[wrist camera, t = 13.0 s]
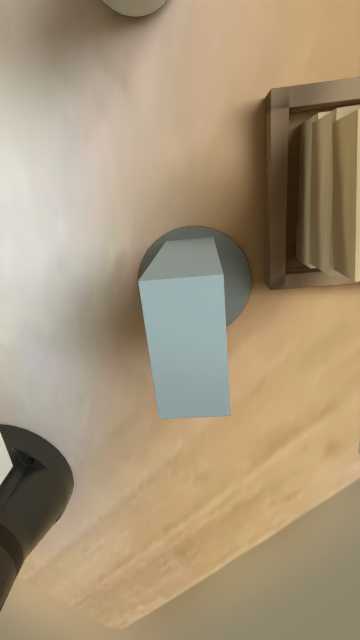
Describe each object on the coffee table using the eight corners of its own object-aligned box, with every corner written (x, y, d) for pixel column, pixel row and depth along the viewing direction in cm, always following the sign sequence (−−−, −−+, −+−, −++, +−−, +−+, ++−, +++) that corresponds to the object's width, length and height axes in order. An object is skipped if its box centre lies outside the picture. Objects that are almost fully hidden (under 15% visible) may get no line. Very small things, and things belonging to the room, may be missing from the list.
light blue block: (175, 327, 30) (158, 418, 18) (166, 241, 27) (138, 281, 15) (218, 324, 30) (230, 416, 18) (213, 236, 27) (223, 274, 15)
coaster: (147, 337, 31) (146, 339, 31) (131, 231, 27) (130, 232, 27) (251, 330, 30) (252, 332, 30) (249, 220, 26) (250, 220, 26)
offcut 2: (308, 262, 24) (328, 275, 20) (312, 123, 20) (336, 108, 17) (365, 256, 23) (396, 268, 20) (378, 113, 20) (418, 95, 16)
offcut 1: (295, 258, 28) (310, 268, 24) (300, 124, 24) (318, 112, 20) (343, 253, 27) (366, 263, 23) (355, 117, 24) (385, 104, 20)
